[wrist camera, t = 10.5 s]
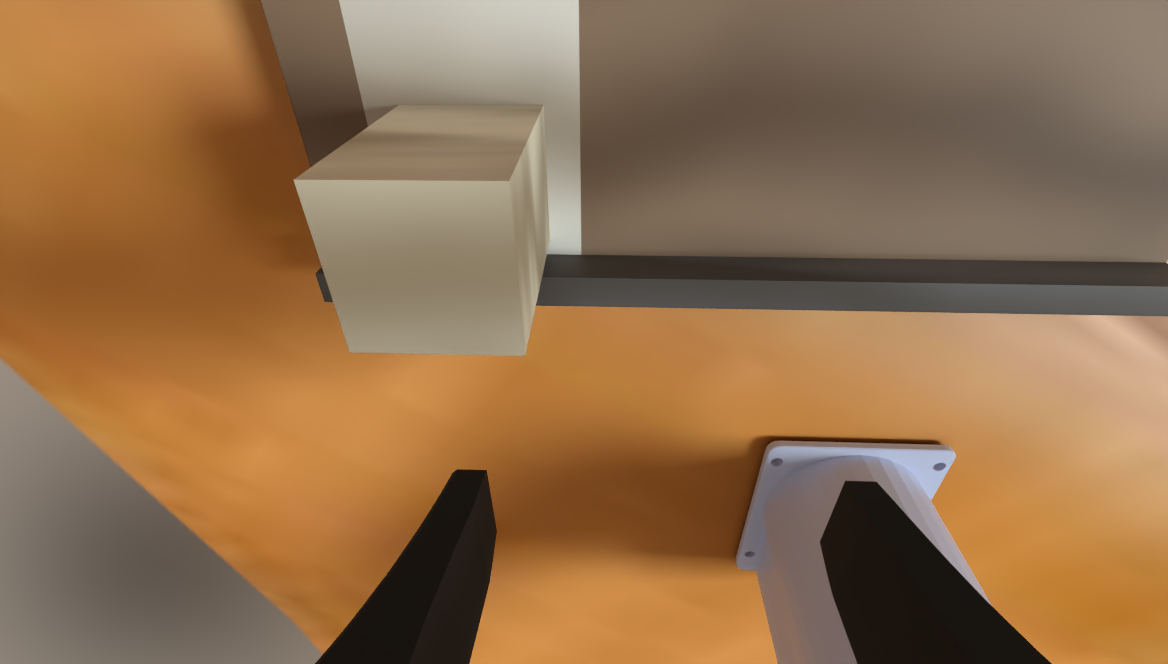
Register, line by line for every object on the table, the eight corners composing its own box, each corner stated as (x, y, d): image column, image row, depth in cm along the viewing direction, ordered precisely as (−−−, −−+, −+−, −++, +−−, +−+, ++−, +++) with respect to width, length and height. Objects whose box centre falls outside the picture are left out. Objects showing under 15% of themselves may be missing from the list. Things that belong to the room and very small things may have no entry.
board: (1110, 268, 18) (1187, 316, 16) (361, 257, 19) (324, 301, 17) (1315, -58, 13) (1477, -61, 11) (277, -50, 14) (206, -51, 12)
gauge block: (550, 239, 17) (525, 356, 12) (424, 238, 17) (349, 352, 12) (543, 104, 15) (509, 181, 10) (398, 104, 15) (293, 179, 10)
